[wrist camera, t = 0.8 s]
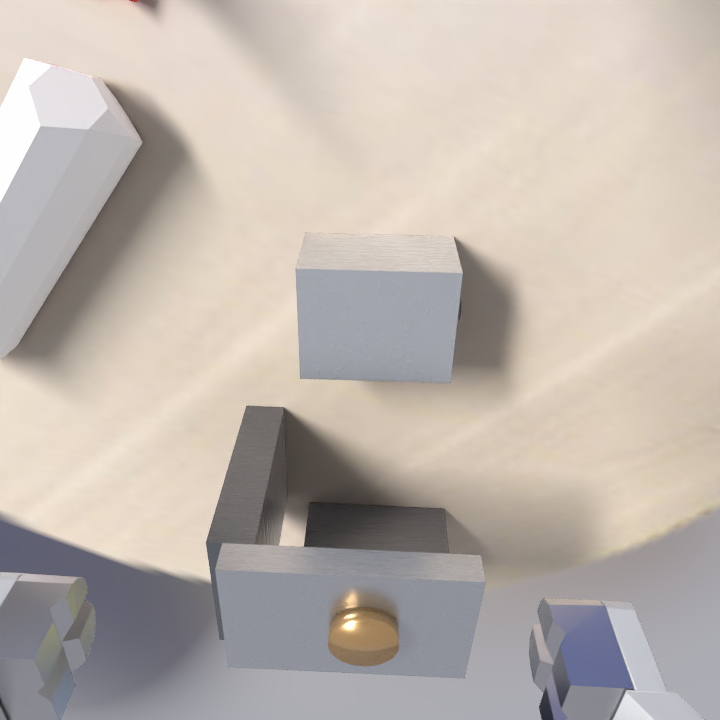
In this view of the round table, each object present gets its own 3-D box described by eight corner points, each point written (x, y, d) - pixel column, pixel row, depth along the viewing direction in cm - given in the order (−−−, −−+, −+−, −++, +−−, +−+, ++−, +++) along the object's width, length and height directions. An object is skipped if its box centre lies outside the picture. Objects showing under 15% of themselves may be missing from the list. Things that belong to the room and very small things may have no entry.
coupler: (246, 405, 51) (193, 585, 36) (458, 415, 51) (488, 599, 36) (254, 511, 57) (212, 700, 43) (442, 520, 57) (462, 712, 43)
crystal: (7, 402, 47) (172, 147, 36) (-110, 385, 42) (42, 83, 31) (3, 330, 51) (150, 83, 41) (-104, 307, 46) (33, 17, 35)
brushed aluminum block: (305, 231, 43) (295, 268, 38) (460, 235, 43) (471, 273, 38) (309, 333, 47) (300, 378, 42) (449, 337, 47) (457, 383, 42)
